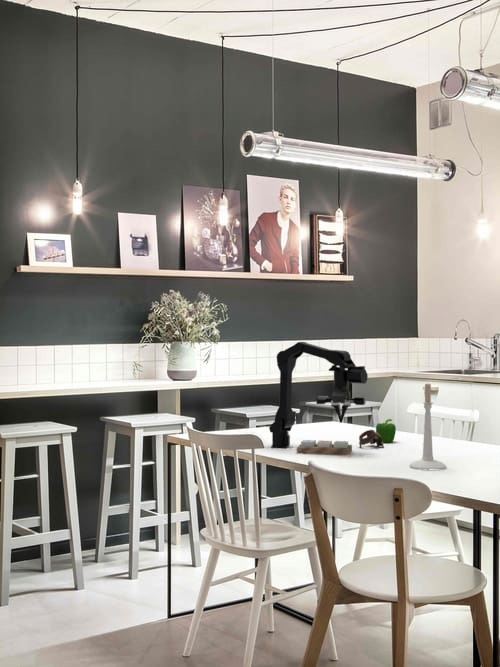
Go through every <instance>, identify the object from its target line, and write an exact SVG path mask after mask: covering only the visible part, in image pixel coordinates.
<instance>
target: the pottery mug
mask: <svg viewBox="0 0 500 667" xmlns="http://www.w3.org/2000/svg"><path fill="white" fill-rule="evenodd" d="M358 440H359V442H358V445H359V448H362V446H365V445H367V444H370V445H375V444H376V447H381V448H382V449H384V447H385V445H384V443H383V441H382V438H381V436H380V435H379V434H378V433H376V430H374V429H368V430H365V431H364V432H362V433H361V434H360V435H359V436H358Z"/></svg>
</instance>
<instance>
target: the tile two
mask: <svg viewBox="0 0 500 667" xmlns="http://www.w3.org/2000/svg"><path fill="white" fill-rule="evenodd" d="M316 444H317V447H332V444H333V440H318V441H317V442H316Z"/></svg>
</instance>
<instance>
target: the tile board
mask: <svg viewBox="0 0 500 667" xmlns="http://www.w3.org/2000/svg"><path fill="white" fill-rule="evenodd" d="M352 451H353V444H348V448H334V443H332V447H317V443H316V446H315V447H305V446H301V444H299V445H298V446H296V454H297V453H303V454H304V455H324V456H325V455H329V456H349V455H350V454H351V453H352ZM303 454H302V455H303Z"/></svg>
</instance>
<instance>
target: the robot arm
mask: <svg viewBox="0 0 500 667" xmlns="http://www.w3.org/2000/svg"><path fill="white" fill-rule="evenodd" d="M303 354H307V355H311V356H315V357H317V358H320V359H324V360H326V361H327V362H328V363H329V364H331V367H330V368H329V369H328V371H329V372H333V391H332V395H331V397H329V396H328V395H319V396H318V397H316V405H325V404H327V403H330V407H333V409H334V410H335V412H336V414H337V415H336V416H337V418H338V421H339V423H343V421H344V418H345V415H346V412H347V410H348V408H350V407H351V406H352V404H354V405H356V406H365V405H366V401H367V400H366V397H365V396H354V398H352V397H351V390H349V383H350V384H357V385H358V384H360V385H362V384H363V385H364V384H367V382H368V377H369V376H368V373H367V370H366V366H364V365H362V366H361V365H360V366H358V365H357V366H356V364H355V363H354V361H353V359H352V358H351V354H350V352H349V351H347V350H339V349H330V348H329V349H328V348H325V347H321V346H319V345H315V344H313V343H308V342H306V341H298V342H296V343H295V344H294V345H292V346H290V347H288V348H286V349H284V350H281V351H279V352H278V353H277V355H276V365H277V368H278V370H279V373H280V376H279V397H278V398H279V400H278V402H279V403H278V404H279V405H278V408H277V410H276V412H275V415H274V417H275V418H274V422H273V423H272V424H271V425H270V426H269V427H268V430H269V432H270V433H271V434H272V435H271V436H272V437H271V438H272V439H271V440H272V441H271V442H272V443H271V444H272V445H271V448H280V449H281V448H283V449H287V448H289V447H290V445H291V435H290V433H289V432H291V431H292V428H293V426H294V425H295V422H296V421H297V418H296V415H297V414H296V413H297V411H295V410H293V409H292V391H293V390H292V388H293V387H292V384H293V371H294V369H295V367H296V364H297V360H298V359H299V358H300V357H302V355H303ZM341 404H342V405H341Z"/></svg>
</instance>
